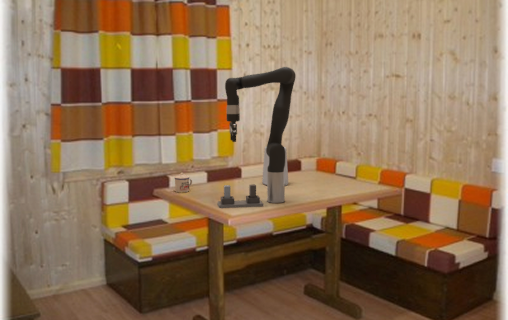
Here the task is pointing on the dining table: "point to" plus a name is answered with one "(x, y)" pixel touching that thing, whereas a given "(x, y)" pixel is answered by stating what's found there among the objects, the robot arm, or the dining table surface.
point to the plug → (227, 192)
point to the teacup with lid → (182, 183)
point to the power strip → (250, 200)
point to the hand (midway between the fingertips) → (233, 141)
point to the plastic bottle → (266, 164)
